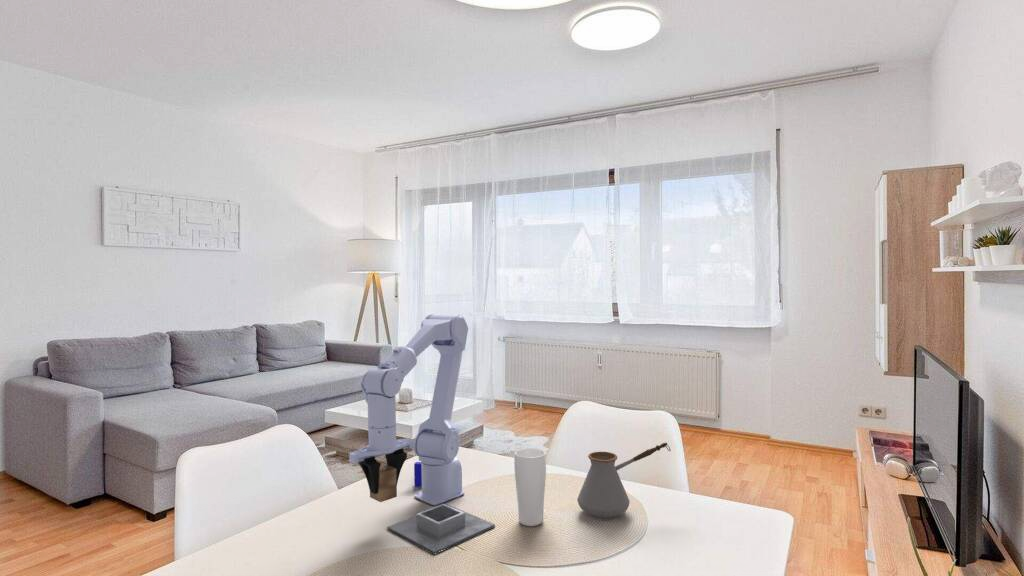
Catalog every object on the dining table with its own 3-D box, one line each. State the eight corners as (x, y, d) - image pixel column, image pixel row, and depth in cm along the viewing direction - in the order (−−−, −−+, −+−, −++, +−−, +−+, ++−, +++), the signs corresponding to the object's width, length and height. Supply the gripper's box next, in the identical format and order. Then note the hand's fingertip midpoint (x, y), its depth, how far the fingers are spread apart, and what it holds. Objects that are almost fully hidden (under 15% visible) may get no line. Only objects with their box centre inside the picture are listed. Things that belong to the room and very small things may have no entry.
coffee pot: (585, 526, 117) (584, 455, 117) (572, 504, 128) (571, 440, 128) (681, 519, 120) (680, 450, 120) (660, 498, 131) (659, 435, 131)
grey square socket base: (446, 506, 128) (446, 492, 128) (494, 527, 117) (494, 512, 117) (387, 529, 117) (387, 514, 117) (434, 554, 106) (434, 538, 106)
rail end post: (386, 491, 120) (385, 464, 120) (396, 496, 117) (396, 468, 117) (370, 497, 117) (369, 469, 117) (380, 502, 114) (379, 473, 114)
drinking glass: (551, 518, 121) (550, 449, 121) (539, 531, 115) (538, 459, 115) (523, 513, 124) (521, 446, 124) (510, 525, 118) (509, 455, 118)
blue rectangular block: (424, 470, 153) (423, 449, 153) (439, 471, 152) (439, 449, 152) (408, 486, 141) (408, 463, 141) (425, 487, 141) (425, 464, 141)
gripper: (400, 415, 125) (401, 475, 125) (341, 428, 115) (342, 494, 115) (419, 421, 120) (420, 483, 120) (358, 435, 110) (360, 503, 110)
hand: (383, 489), depth 117 cm, fingers closed on rail end post, 4 cm apart
